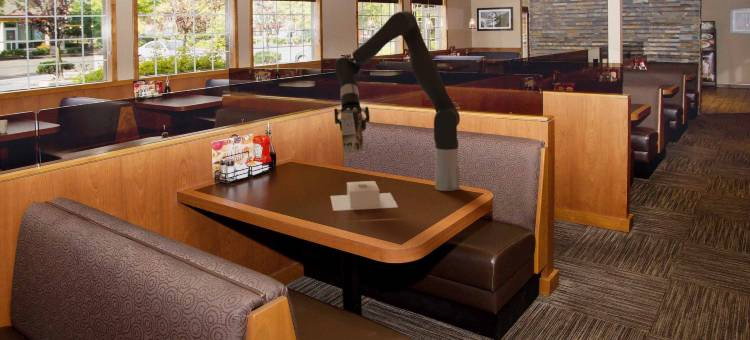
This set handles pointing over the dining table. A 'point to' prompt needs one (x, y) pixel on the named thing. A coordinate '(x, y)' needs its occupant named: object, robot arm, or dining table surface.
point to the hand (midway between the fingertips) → (353, 130)
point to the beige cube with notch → (363, 194)
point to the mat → (343, 204)
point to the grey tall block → (352, 131)
